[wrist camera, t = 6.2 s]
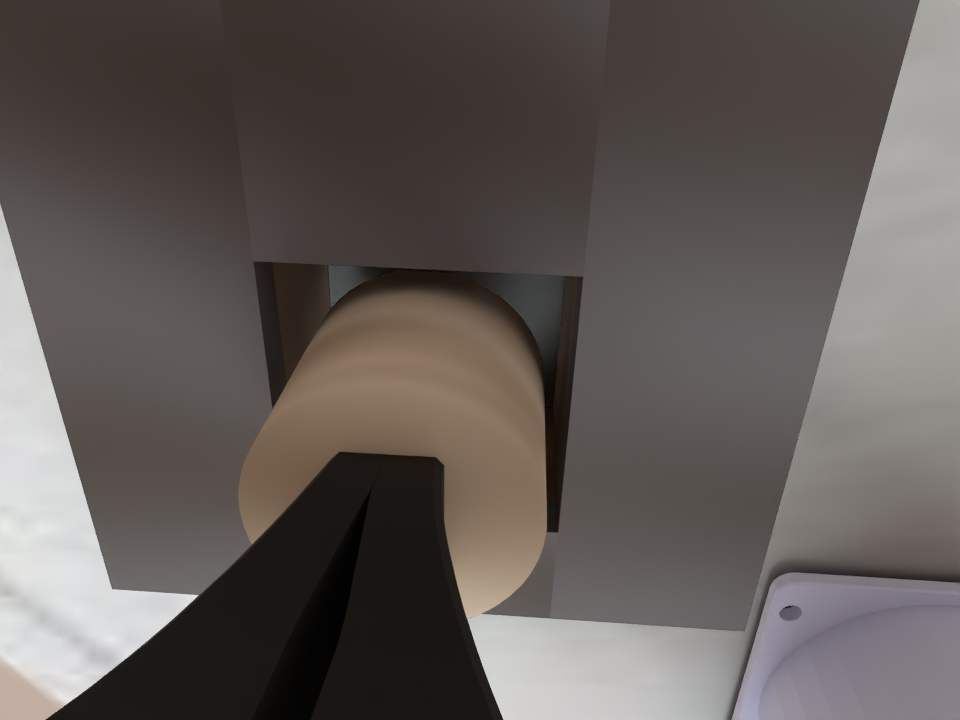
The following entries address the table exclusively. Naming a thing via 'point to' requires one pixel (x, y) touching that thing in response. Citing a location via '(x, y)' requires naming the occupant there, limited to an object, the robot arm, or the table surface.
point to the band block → (448, 247)
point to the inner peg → (421, 418)
